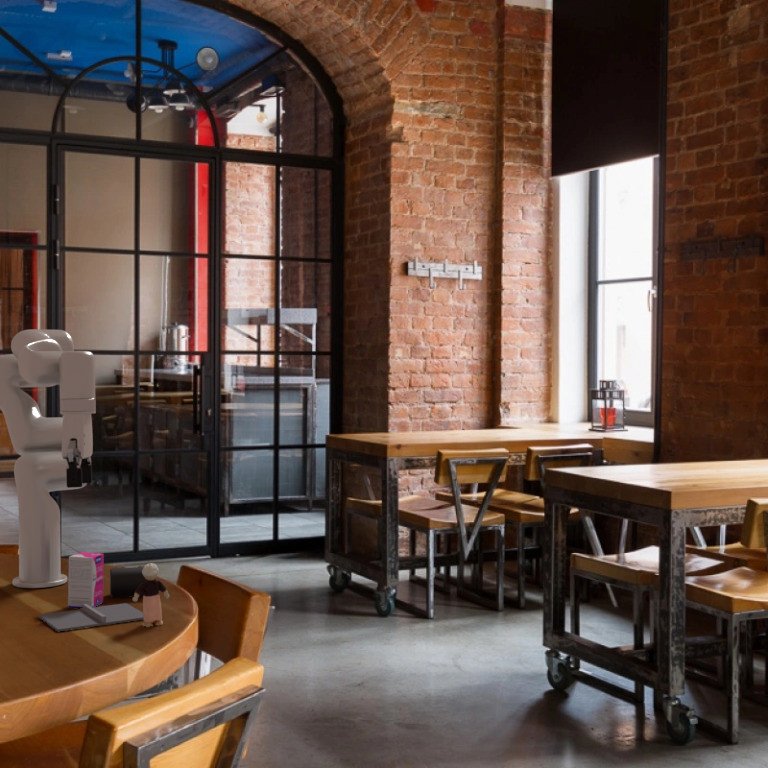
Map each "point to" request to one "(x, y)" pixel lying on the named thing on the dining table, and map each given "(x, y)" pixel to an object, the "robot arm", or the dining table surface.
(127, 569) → the end cap
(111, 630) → the dining table surface
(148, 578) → the grandmother figurine
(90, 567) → the supplement box
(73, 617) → the mat
